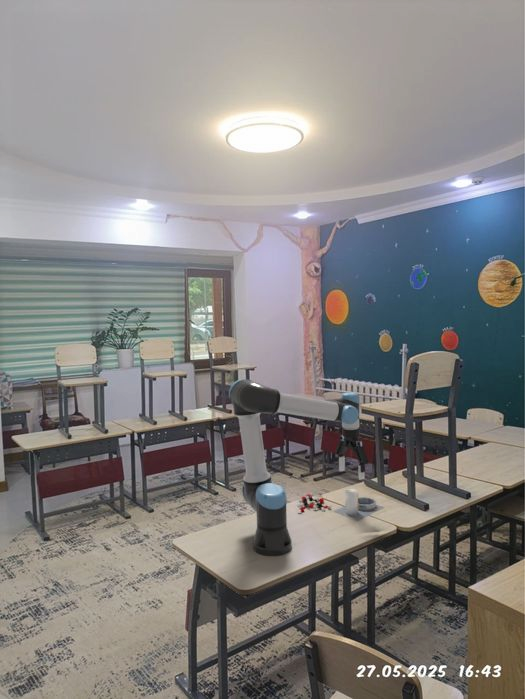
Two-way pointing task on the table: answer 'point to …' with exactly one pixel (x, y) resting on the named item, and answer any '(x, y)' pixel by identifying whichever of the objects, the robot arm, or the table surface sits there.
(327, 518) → the table surface
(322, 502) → the molecular model
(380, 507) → the board
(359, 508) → the duct collar
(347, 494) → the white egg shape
